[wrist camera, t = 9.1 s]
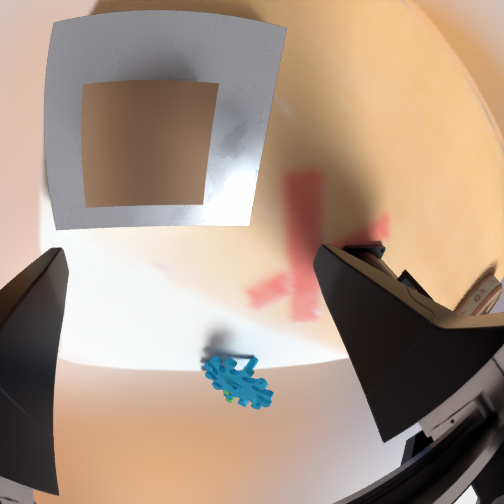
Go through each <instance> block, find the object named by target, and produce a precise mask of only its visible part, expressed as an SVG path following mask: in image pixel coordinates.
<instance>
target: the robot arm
mask: <svg viewBox="0 0 504 504" xmlns="http://www.w3.org/2000/svg"><path fill="white" fill-rule="evenodd" d="M384 251H385V247H384V246H383V245H365V246H345V247H344V248H343V249H342V250H341V249H339V248H337V247H335V246H333V245H331V244H322V245H320V246H319V248H318V251H317V254H316V257H315V259H314V262H313V268H314V271H315V274H316V277H317V279H318V282H319V285H320V288H321V291H322V294H323V297H324V300H325V302H326V305H327V307H328V309H329V311H330V313H331V316H332V318H333V320H334V322H335V325H336V327H337V329H338V331H339V334H340V336H341V338H342V341H343V343H344V345H345V348H346V350H347V352H348V355H349V357H350V359H351V362H352V364H353V366H354V369H355V371H356V374H357V376H358V379H359V381H360V383H361V386H362V389H363V391H364V394H365V395H366V399H367V401H368V404H369V407H370V409H371V412H372V414H373V417H374V419H375V422H376V425H377V428H378V430H379V433H380V436H381V438H382V441H383V442H384V443H385V442H387V441H389V440H390V439H392V438H394V437H396V436H397V435H399V434H400V433H402V432H404V431H405V430H407V429H408V428H410V427H411V426H413V425H415V424H416V423H417V422H418V423H419V424H420V426H421V428H422V430H421V431H419V432H418V433H417V434H415V435H414V436H412V437H411V438H409V439H408V440H407V441H406V445H405V450H404V454H403V458H402V462H401V466H400V467H399V468H397V469H396V470H394V471H393V472H391V473H389V474H388V475H386V476H384V477H383V478H381V479H379V480H378V481H376V482H374V483H373V484H371V485H369V486H367V487H365V488H364V489H362V490H360V491H358V492H356V493H354V494H352V495H350V496H348V497H346V498H344V499H342V500H340V501H337V502H335V503H333V504H454V502H456V501H457V499H458V498H459V497H460V496H461V495H462V494H463V493H464V492H465V491H466V490H467V489H468V488H469V486H470V485H472V487H473V489H474V491H475V493H476V495H477V496H478V498H477V502H476V504H504V312H500V313H493V314H485V315H477V316H463V315H460V314H457V313H455V312H453V311H451V310H450V309H448V308H446V307H444V306H442V305H440V304H438V303H436V302H435V301H434V300H433V299H432V298H431V297H430V296H429V295H428V294H427V292H426V291H425V290H424V289H423V288H422V287H421V286H420V285H419V284H418V282H417V281H416V280H415V279H414V278H413V277H412V276H411V275H410V274H409V273H408V272H407V271H406V270H404V271H403V272H402V274H401V275H400V276H399V278H398V277H397V276H396V275H395V274H394V273H393V272H392V270H391V269H390V268H389V267H388V266H387V265H386V264H385V263H384V262H383V261H382V260H381V258H382V256H383V253H384ZM68 276H69V270H68V265H67V261H66V257H65V253H64V250H63V249H62V248H51V249H49V250H48V251H47V252H45V253H44V254H43V255H41V256H40V257H39V258H38V259H36V260H35V261H34V262H33V263H31V264H30V265H29V266H28V267H26V268H25V269H24V270H23V271H22V272H20V273H19V274H18V275H17V276H16V277H15V278H13V279H12V280H11V281H10V282H9V283H8V284H7V285H5V286H4V287H3V288H2V289H1V290H0V504H36V503H35V502H34V499H33V490H32V489H34V490H38V491H42V492H45V493H49V494H53V495H57V496H59V490H58V483H57V476H56V467H55V455H54V436H53V401H54V384H55V372H56V362H57V354H58V347H59V340H60V334H61V328H62V322H63V316H64V309H65V299H66V290H67V283H68ZM416 290H417V291H416Z"/></svg>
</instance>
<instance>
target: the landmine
mask: <svg viewBox="0 0 504 504" xmlns="http://www.w3.org/2000/svg"><path fill="white" fill-rule="evenodd" d="M501 286H502V284H501V283H500V282H499V281H498V280H497V279H496V278H495V277H494V276H491V275H488V276H486V277H485V278H483V279H482V280H481V281H480V282H479V283H478V284H477V285H476V286H475V287H474V288H473V289H472V291H471V292H470V293H469V294H468V295H467V296H466V298H465V299H464V300H463V301H462V303H461V304H460V305H459V306H458V308H457V309H456V311H455V313H457V314H460V315H463V316H477V315H485V314H489V313H490V311H491V310H492V309H493V307H494V306H495V304H496V302H497V301H498V300H499V298H500V296H501V294H502V292H503V288H502V287H501Z"/></svg>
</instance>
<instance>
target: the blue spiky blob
mask: <svg viewBox="0 0 504 504" xmlns="http://www.w3.org/2000/svg"><path fill="white" fill-rule="evenodd" d="M257 362H258V359H257V358H255V357H252V358H251V360H250V361H249V362H248V364H247V365H246V366H245V367H244V369H243V370H241V371H237V370H235V369H234V367H235V366H236V365H237V362H236V361H235V360H233V359H231V358H229V357H228V358H227V360H226V361H225V362H224V365H225V367H226V368H225V367H223V366H222V359H221V358H220V357H216V356H214V357H213V358H212V359H211V360H210V361H208V362H207V363H206V364H205V365H204V368H205V369H207V370H208V371H207V372H206V373H205V376H206V377H207V378H208V379H211V380H213V381H214V382H213V383H212V385H213V387H214V388H215V389H217V390H223V392H224V396H225V397H226V401H228V402H229V403H232V402H233V400H234V399H235V397H238V398H240V400H239V401H238V404H240V405H242V406H244V407H246V405H247V404H248V402H249V401H251V402H252V405H251V407H252V408H254V409H260V408H261V406H263V407H269V406H270V404H271V403H272V401H271V400H270V399H271V397H272V396H273V392H272V391H270V390H266V389H265V388H266V387H267V385H268V384H267V382H266V380H265V379H263V378H259V379H254V378H251V377H252V375H253V374H254V371H253V368H254V367H255V365H256V364H257ZM248 400H249V401H248Z"/></svg>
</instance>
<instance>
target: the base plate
mask: <svg viewBox="0 0 504 504" xmlns="http://www.w3.org/2000/svg"><path fill="white" fill-rule="evenodd" d="M286 31H287V28H285V27H281V26H278V25H274V24H269V23H265V22H261V21H256V20H251V19H246V18H241V17H235V16H229V15H222V14H214V13H205V12H194V11H177V10H139V11H122V12H111V13H103V14H95V15H89V16H83V17H78V18H72V19H67V20H63V21H59V22H55V23H54V24H53V29H52V34H51V39H50V45H49V52H48V60H47V68H46V78H45V94H44V142H45V158H46V169H47V178H48V186H49V193H50V200H51V206H52V211H53V217H54V222H55V227H56V230H69V229H88V228H111V227H140V226H181V225H248V224H249V219H250V213H251V208H252V203H253V198H254V192H255V187H256V182H257V177H258V171H259V166H260V161H261V156H262V151H263V145H264V140H265V135H266V130H267V125H268V120H269V115H270V110H271V105H272V100H273V95H274V90H275V85H276V80H277V75H278V70H279V65H280V60H281V55H282V50H283V45H284V40H285V36H286ZM129 80H179V81H197V82H209V83H219V87H218V93H217V99H216V106H215V112H214V119H213V126H212V133H211V141H210V148H209V156H208V165H207V173H206V182H205V191H204V201H203V205H146V206H115V207H93V208H86V204H85V195H84V184H83V171H82V150H81V114H82V93H83V84H90V83H100V82H112V81H129Z"/></svg>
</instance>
